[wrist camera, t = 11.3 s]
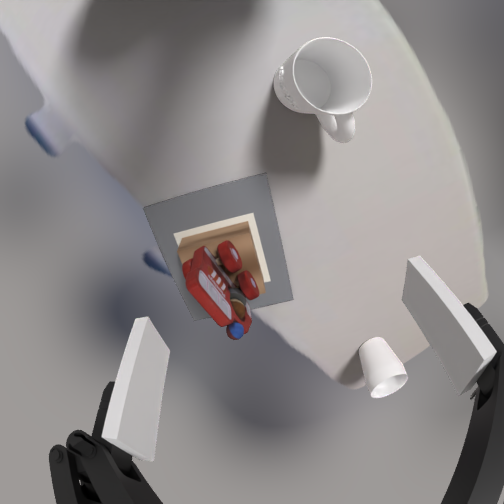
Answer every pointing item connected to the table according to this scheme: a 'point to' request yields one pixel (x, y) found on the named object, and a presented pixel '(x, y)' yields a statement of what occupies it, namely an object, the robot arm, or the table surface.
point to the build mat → (217, 216)
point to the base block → (238, 237)
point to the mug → (325, 84)
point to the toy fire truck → (221, 287)
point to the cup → (381, 368)
